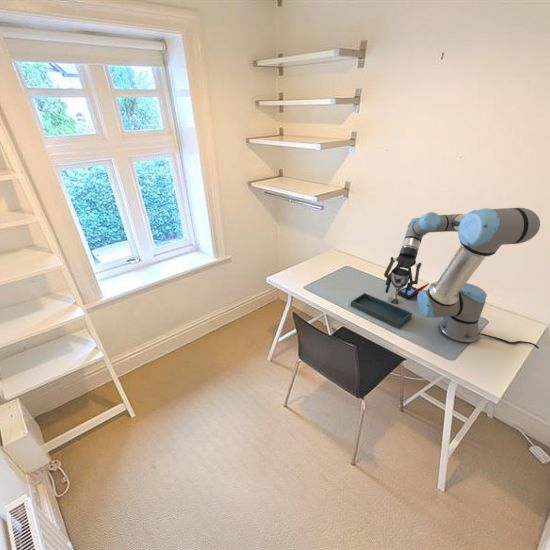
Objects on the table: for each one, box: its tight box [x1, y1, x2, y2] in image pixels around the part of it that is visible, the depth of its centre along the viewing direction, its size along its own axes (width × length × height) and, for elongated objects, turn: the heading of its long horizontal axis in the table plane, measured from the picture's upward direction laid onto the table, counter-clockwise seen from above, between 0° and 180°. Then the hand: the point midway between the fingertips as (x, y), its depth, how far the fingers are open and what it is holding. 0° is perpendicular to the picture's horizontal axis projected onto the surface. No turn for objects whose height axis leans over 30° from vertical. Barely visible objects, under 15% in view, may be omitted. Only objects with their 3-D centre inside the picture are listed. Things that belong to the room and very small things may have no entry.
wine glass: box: [387, 267, 410, 305], centre depth 144 cm, size 8×8×15 cm
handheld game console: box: [397, 283, 430, 300], centre depth 169 cm, size 12×11×7 cm
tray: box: [350, 292, 413, 329], centre depth 156 cm, size 27×12×3 cm, turn 42°
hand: (395, 294), depth 142 cm, fingers closed on wine glass, 7 cm apart
